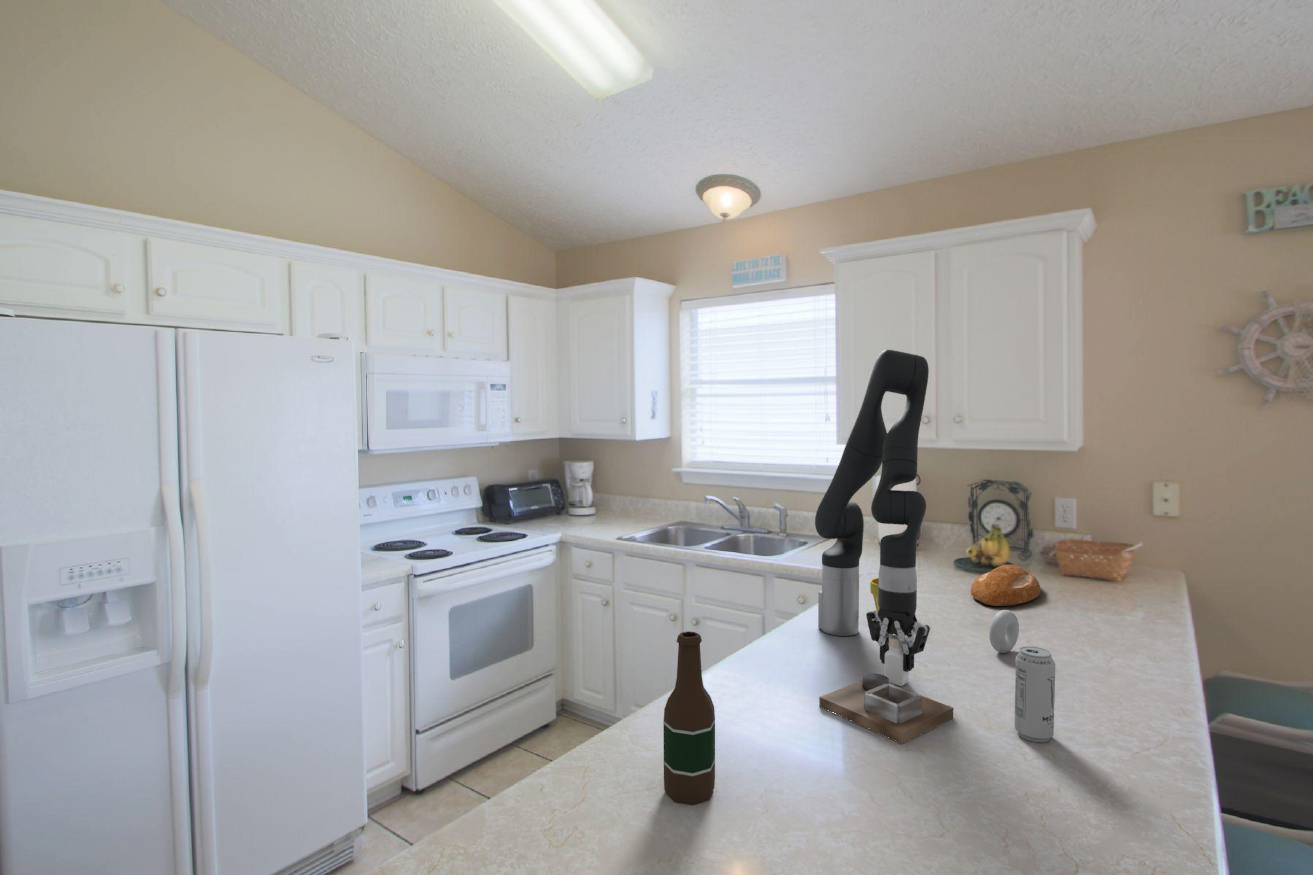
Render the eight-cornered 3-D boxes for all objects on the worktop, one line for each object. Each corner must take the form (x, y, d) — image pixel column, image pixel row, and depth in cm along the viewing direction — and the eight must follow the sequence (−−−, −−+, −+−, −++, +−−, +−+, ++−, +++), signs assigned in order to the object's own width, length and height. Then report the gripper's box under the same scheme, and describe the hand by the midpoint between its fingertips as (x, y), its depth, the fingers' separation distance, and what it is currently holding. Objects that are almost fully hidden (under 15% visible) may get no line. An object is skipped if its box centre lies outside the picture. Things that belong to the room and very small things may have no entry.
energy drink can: (1052, 747, 115) (1054, 660, 114) (1012, 738, 118) (1014, 653, 117) (1054, 732, 120) (1056, 649, 119) (1015, 724, 123) (1017, 642, 122)
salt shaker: (890, 676, 145) (890, 632, 144) (909, 681, 142) (910, 636, 142) (883, 682, 142) (883, 637, 141) (902, 687, 139) (903, 642, 139)
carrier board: (819, 706, 131) (819, 681, 130) (870, 686, 140) (870, 662, 140) (902, 744, 116) (902, 715, 116) (953, 718, 126) (953, 691, 125)
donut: (1001, 659, 154) (1001, 616, 154) (985, 655, 157) (986, 612, 157) (1021, 649, 161) (1022, 607, 160) (1006, 645, 163) (1007, 604, 163)
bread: (1051, 588, 214) (1052, 561, 214) (1021, 614, 188) (1022, 583, 188) (991, 579, 226) (992, 553, 226) (955, 602, 200) (956, 572, 199)
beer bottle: (661, 778, 106) (660, 626, 105) (710, 775, 107) (710, 624, 105) (666, 807, 98) (665, 644, 97) (719, 804, 99) (719, 642, 98)
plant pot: (868, 620, 183) (868, 584, 182) (871, 609, 192) (871, 575, 192) (909, 624, 179) (909, 588, 179) (910, 613, 189) (911, 578, 188)
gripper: (939, 590, 138) (938, 673, 138) (878, 576, 149) (878, 652, 150) (918, 596, 133) (917, 682, 134) (857, 581, 145) (856, 660, 145)
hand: (896, 666), depth 142 cm, fingers closed on salt shaker, 4 cm apart
